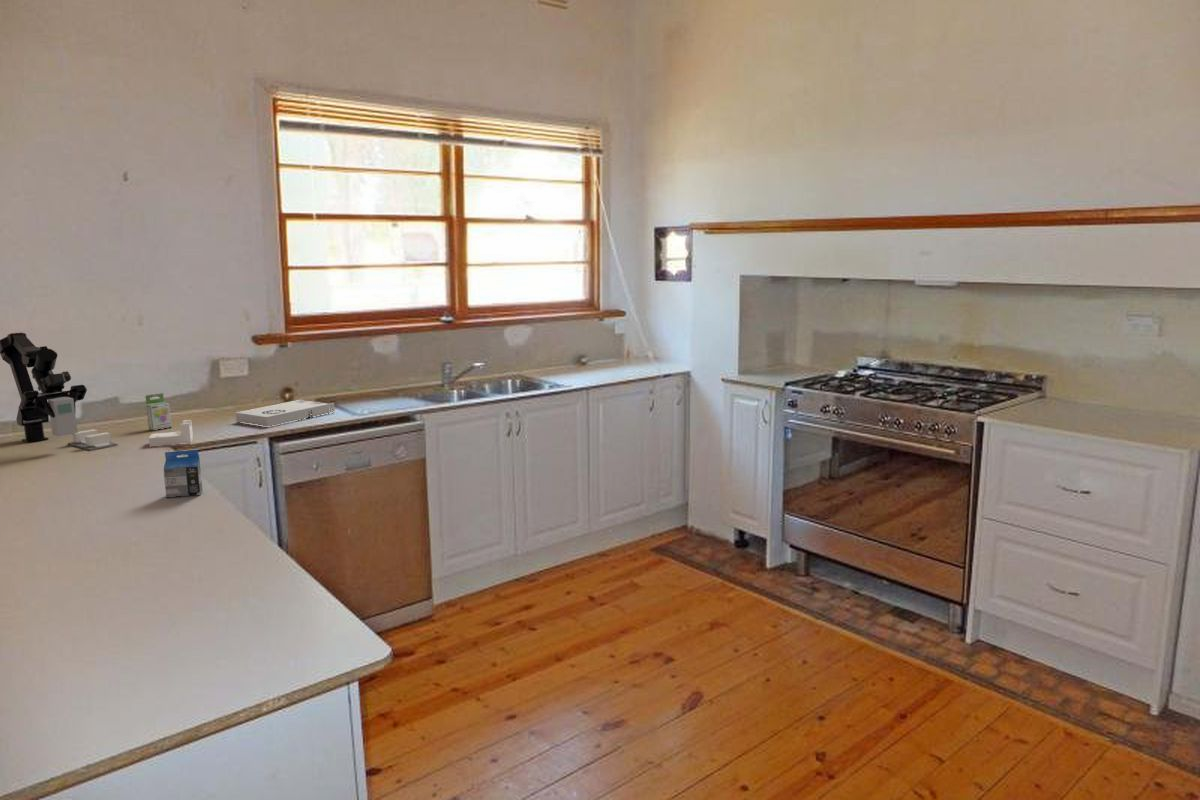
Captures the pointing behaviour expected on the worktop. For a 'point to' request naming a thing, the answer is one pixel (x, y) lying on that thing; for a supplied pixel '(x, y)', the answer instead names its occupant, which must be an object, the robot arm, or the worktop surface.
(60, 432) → the grey module
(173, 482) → the blue retail package
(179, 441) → the bracket
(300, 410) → the power supply unit
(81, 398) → the robot arm
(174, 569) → the worktop surface
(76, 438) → the module rail
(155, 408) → the ink box
